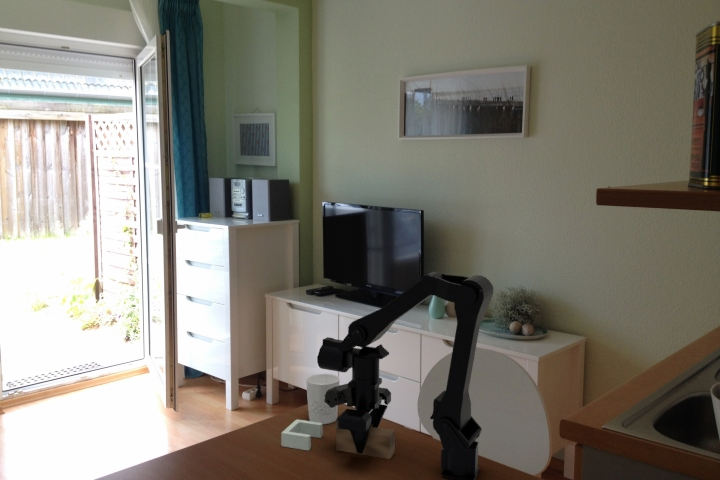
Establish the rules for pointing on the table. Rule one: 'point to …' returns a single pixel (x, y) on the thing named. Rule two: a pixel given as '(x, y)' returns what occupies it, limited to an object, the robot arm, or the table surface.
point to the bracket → (301, 434)
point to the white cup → (321, 397)
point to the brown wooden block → (368, 442)
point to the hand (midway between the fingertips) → (365, 446)
